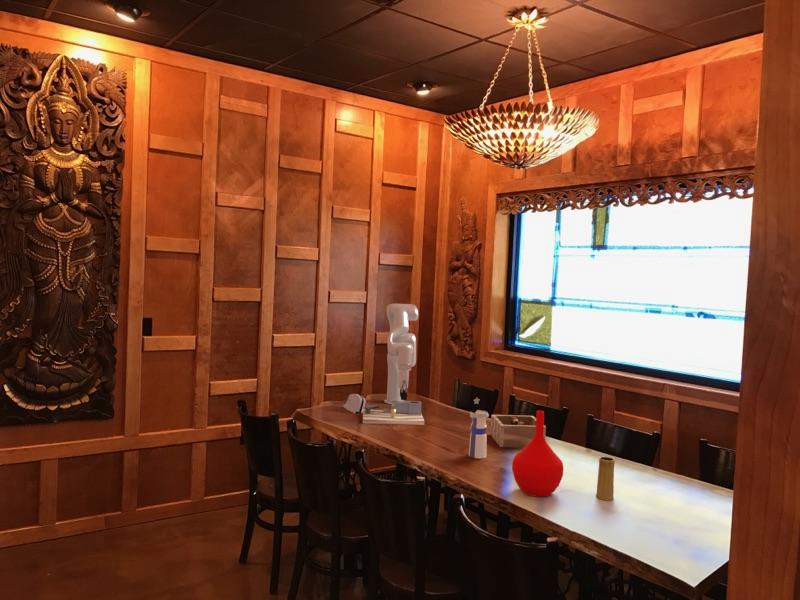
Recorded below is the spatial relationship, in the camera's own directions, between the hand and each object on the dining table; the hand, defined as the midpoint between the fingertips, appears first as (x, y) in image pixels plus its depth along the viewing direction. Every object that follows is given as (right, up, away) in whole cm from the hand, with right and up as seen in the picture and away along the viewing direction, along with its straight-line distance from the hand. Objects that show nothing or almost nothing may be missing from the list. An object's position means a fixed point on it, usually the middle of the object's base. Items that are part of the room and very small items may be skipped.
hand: (403, 398), depth 337 cm
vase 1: (+48, -17, -111) cm, 122 cm away
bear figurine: (+55, -15, -41) cm, 70 cm away
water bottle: (+32, -14, -68) cm, 77 cm away
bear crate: (+54, -14, -41) cm, 69 cm away
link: (-1, -8, +1) cm, 8 cm away
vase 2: (+72, -18, -114) cm, 136 cm away
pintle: (-5, -10, -10) cm, 15 cm away
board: (-6, -10, -6) cm, 13 cm away
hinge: (-27, -9, +12) cm, 31 cm away
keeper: (-17, -10, 0) cm, 20 cm away
